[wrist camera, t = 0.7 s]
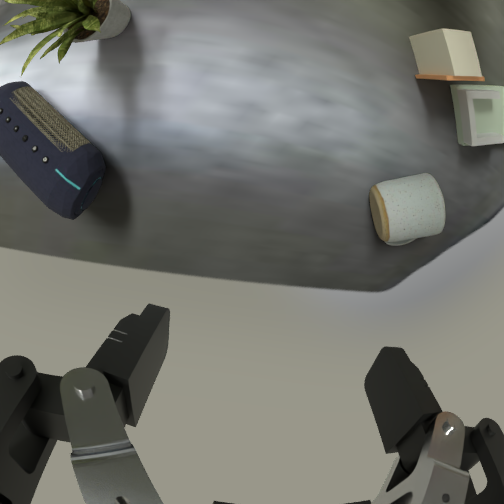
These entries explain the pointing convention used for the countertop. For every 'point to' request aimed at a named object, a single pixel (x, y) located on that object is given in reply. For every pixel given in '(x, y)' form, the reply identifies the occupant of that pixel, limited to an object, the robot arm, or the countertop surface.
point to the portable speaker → (48, 151)
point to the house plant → (70, 22)
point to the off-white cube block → (446, 55)
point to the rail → (479, 114)
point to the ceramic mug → (407, 208)
